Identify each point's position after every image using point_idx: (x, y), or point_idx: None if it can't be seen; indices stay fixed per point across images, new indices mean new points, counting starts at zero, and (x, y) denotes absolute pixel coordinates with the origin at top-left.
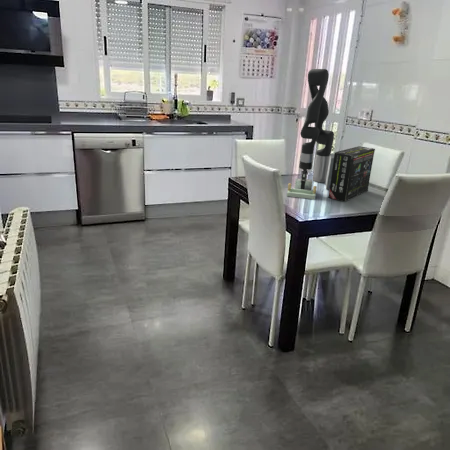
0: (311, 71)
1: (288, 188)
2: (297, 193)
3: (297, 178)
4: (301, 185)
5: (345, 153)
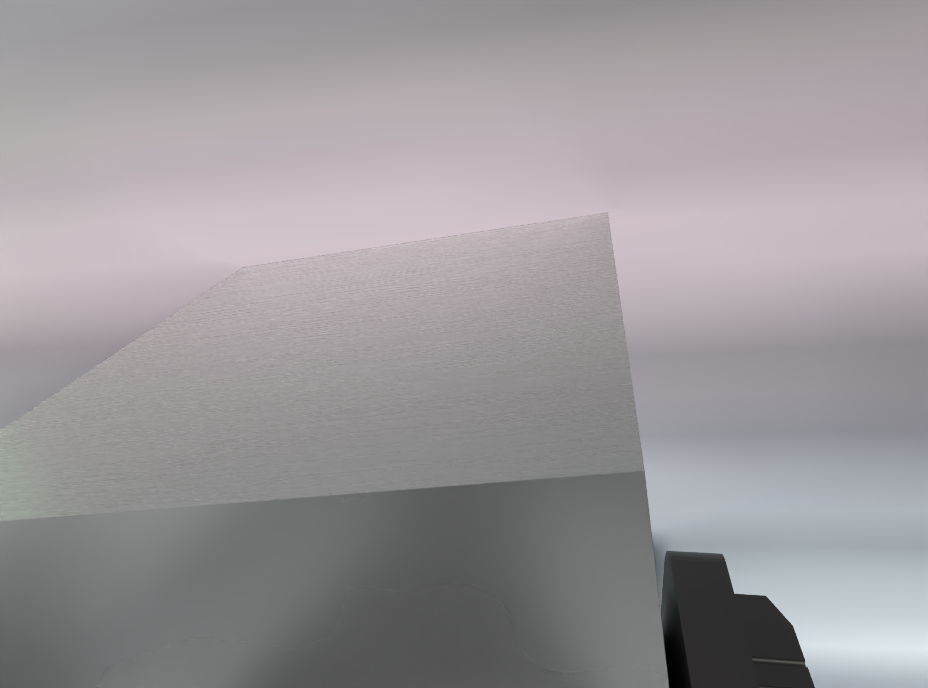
0: None
1: None
2: None
3: (658, 677)
4: None
5: None
